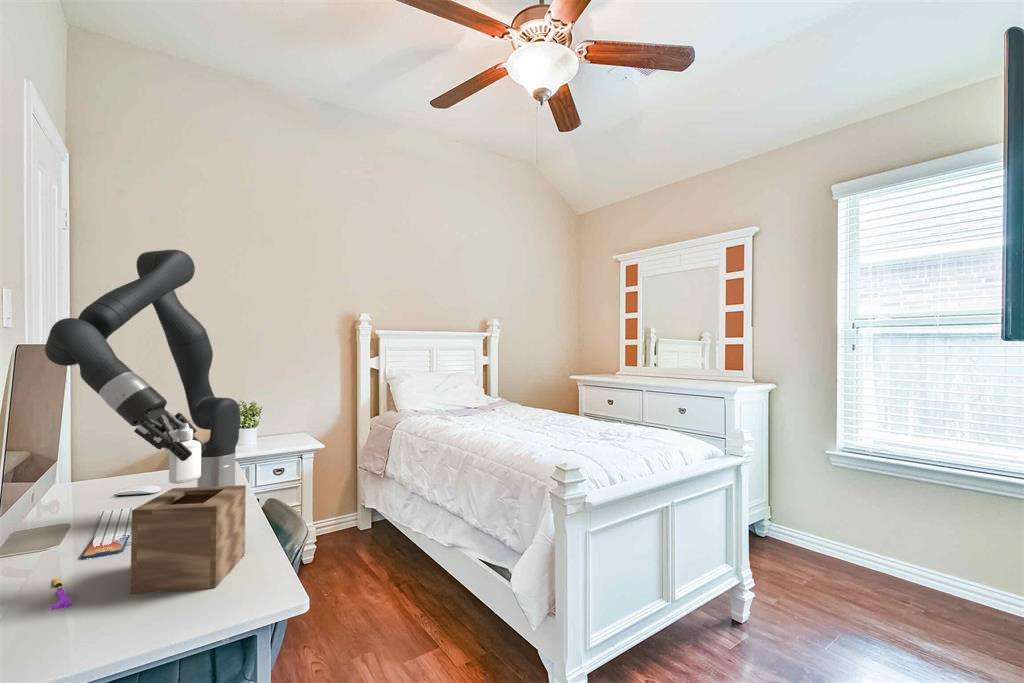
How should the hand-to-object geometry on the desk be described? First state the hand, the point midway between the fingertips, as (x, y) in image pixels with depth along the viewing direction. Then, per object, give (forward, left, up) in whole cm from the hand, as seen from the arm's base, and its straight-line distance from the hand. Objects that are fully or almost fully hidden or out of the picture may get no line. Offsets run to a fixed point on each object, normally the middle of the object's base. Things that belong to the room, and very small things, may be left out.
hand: (195, 454), depth 101 cm
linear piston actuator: (+5, -22, -26) cm, 34 cm away
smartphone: (-19, -27, -25) cm, 42 cm away
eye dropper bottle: (0, -2, -6) cm, 6 cm away
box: (0, 0, -25) cm, 25 cm away
